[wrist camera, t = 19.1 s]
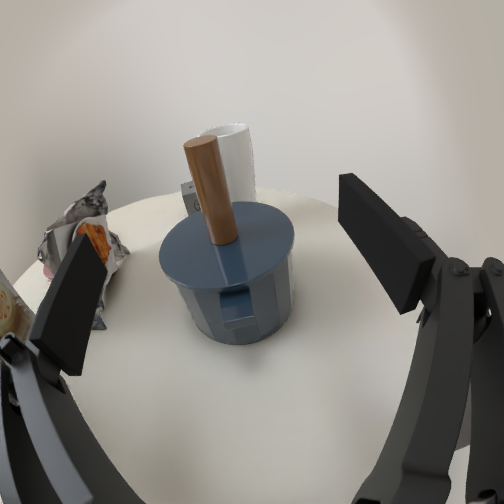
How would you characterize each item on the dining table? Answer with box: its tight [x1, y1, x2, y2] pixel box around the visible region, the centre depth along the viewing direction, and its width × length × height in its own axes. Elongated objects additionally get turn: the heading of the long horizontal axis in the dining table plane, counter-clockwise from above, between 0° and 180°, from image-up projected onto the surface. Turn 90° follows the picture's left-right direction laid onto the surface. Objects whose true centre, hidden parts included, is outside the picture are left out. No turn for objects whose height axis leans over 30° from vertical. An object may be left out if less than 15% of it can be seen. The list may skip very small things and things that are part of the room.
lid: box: [159, 135, 295, 293], centre depth 22 cm, size 12×12×10 cm
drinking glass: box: [198, 123, 256, 202], centre depth 37 cm, size 7×7×15 cm
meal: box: [38, 180, 130, 330], centre depth 31 cm, size 15×4×13 cm, turn 3°
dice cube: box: [181, 181, 201, 216], centre depth 45 cm, size 5×5×5 cm
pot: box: [176, 252, 294, 345], centre depth 27 cm, size 11×17×8 cm
